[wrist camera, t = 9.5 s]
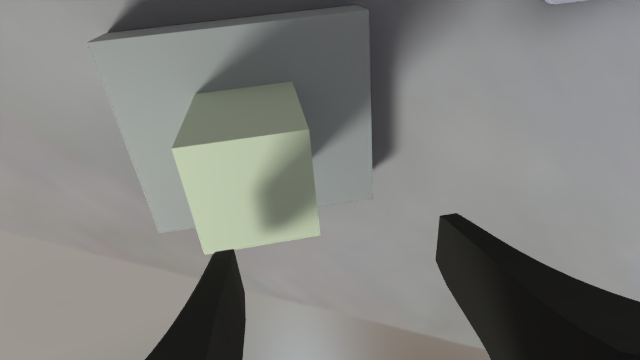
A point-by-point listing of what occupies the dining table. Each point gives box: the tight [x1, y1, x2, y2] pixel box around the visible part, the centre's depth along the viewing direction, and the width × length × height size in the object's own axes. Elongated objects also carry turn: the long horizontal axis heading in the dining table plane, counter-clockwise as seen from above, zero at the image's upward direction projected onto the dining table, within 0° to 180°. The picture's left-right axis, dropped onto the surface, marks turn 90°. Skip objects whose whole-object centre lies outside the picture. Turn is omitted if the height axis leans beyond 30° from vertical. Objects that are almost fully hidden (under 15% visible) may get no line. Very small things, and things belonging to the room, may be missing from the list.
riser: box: [87, 5, 373, 233], centre depth 20 cm, size 12×10×2 cm
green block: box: [171, 82, 320, 255], centre depth 16 cm, size 4×4×6 cm
